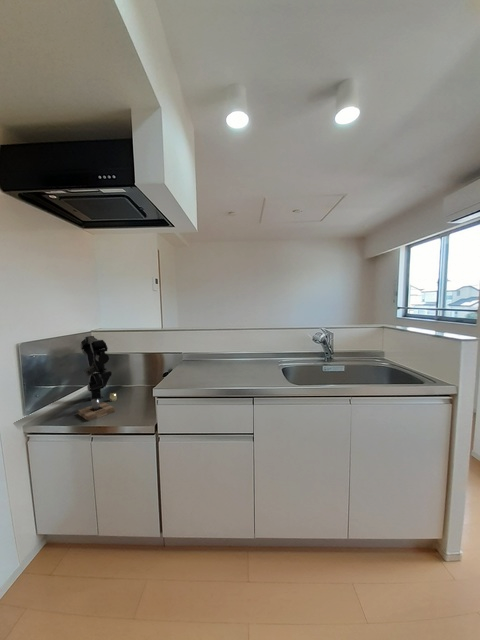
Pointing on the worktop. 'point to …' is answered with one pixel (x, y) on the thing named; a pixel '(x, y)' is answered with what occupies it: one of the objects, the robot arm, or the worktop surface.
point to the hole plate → (91, 415)
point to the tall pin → (95, 404)
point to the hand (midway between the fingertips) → (101, 385)
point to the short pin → (113, 397)
